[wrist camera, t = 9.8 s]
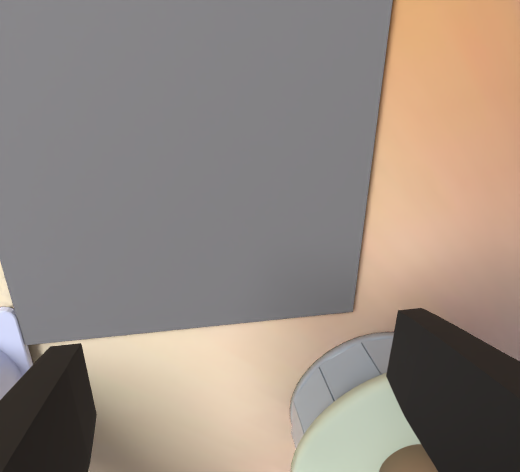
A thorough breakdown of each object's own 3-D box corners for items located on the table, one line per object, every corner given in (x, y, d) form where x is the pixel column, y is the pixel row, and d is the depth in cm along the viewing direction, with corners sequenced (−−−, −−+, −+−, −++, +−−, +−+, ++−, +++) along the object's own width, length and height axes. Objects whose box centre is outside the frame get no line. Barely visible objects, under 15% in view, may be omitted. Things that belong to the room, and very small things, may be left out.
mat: (28, 338, 19) (24, 345, 19) (-90, -80, 12) (-100, -85, 12) (349, 306, 22) (352, 311, 21) (393, -52, 15) (399, -55, 15)
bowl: (286, 465, 26) (303, 530, 23) (293, 342, 22) (315, 398, 19) (426, 442, 28) (463, 499, 24) (458, 323, 24) (507, 372, 20)
